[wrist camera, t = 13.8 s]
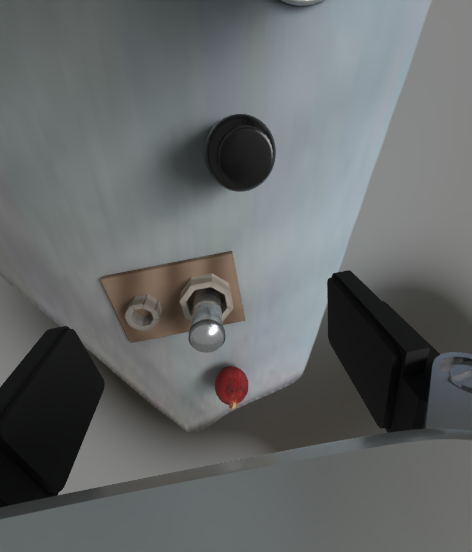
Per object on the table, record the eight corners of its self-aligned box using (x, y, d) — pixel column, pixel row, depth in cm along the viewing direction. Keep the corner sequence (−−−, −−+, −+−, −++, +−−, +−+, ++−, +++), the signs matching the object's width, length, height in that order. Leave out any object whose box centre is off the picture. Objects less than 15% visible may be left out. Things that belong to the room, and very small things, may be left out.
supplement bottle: (218, 188, 35) (223, 212, 24) (195, 133, 32) (188, 133, 21) (268, 166, 34) (295, 180, 24) (249, 107, 31) (270, 94, 21)
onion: (213, 357, 49) (214, 396, 42) (245, 355, 49) (252, 393, 42) (214, 380, 51) (216, 420, 44) (245, 378, 52) (251, 417, 45)
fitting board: (231, 250, 39) (233, 261, 36) (244, 316, 45) (247, 330, 42) (102, 276, 39) (94, 288, 36) (132, 338, 45) (126, 354, 42)
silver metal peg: (218, 280, 40) (221, 321, 31) (224, 304, 42) (228, 349, 33) (189, 286, 40) (184, 329, 31) (196, 309, 42) (193, 356, 33)
